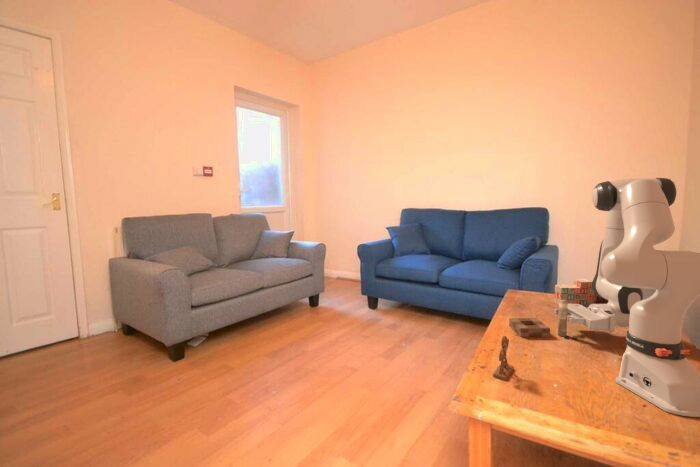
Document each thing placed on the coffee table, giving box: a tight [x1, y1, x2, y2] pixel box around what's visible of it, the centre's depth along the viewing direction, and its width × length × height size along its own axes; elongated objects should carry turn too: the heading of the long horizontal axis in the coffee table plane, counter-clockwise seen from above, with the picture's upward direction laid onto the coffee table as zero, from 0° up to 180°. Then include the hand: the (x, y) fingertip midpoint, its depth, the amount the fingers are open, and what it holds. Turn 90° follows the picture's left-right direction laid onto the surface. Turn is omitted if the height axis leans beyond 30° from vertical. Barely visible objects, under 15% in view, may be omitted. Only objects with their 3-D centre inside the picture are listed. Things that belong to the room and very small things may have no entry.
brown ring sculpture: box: [492, 335, 515, 382], centre depth 104 cm, size 9×4×12 cm, turn 140°
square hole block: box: [508, 317, 551, 338], centre depth 135 cm, size 11×11×4 cm
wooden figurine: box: [592, 292, 609, 304], centre depth 152 cm, size 12×6×18 cm, turn 143°
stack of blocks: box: [553, 278, 594, 307], centre depth 166 cm, size 21×6×12 cm, turn 85°
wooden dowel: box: [557, 300, 568, 338], centre depth 130 cm, size 3×3×14 cm
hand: (562, 315), depth 130 cm, fingers open, 8 cm apart
